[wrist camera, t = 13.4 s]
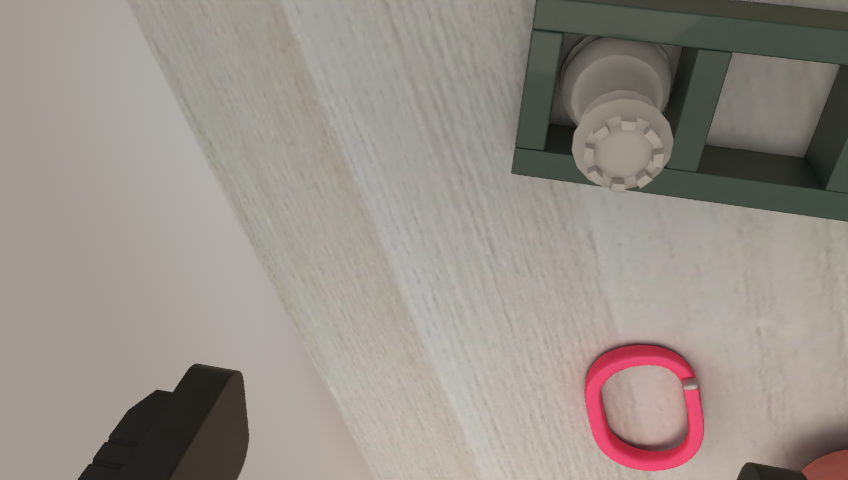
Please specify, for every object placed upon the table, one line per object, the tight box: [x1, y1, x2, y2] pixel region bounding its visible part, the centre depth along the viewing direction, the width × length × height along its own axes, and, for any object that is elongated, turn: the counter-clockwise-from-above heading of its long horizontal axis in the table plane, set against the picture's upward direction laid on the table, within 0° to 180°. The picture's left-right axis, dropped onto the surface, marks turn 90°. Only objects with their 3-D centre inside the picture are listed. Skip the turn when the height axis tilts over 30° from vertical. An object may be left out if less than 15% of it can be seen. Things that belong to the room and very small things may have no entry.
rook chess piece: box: [560, 36, 674, 192], centre depth 26 cm, size 4×4×8 cm
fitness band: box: [585, 345, 704, 471], centre depth 37 cm, size 8×6×2 cm
